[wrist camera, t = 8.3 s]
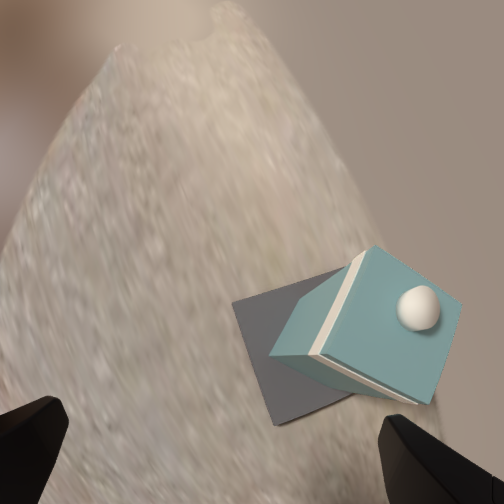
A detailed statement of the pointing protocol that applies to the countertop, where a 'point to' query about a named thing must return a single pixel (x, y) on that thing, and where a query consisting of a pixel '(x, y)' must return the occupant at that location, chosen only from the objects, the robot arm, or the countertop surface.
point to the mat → (262, 342)
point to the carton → (372, 331)
